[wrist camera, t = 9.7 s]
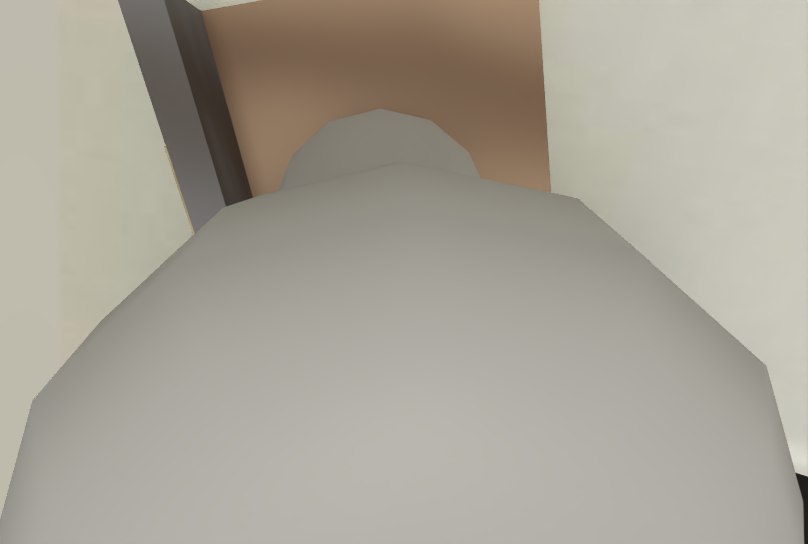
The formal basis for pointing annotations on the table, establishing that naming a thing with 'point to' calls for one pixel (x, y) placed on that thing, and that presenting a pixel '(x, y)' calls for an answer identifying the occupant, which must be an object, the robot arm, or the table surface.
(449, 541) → the salt shaker
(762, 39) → the table surface
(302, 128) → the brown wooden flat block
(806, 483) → the robot arm
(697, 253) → the table surface
